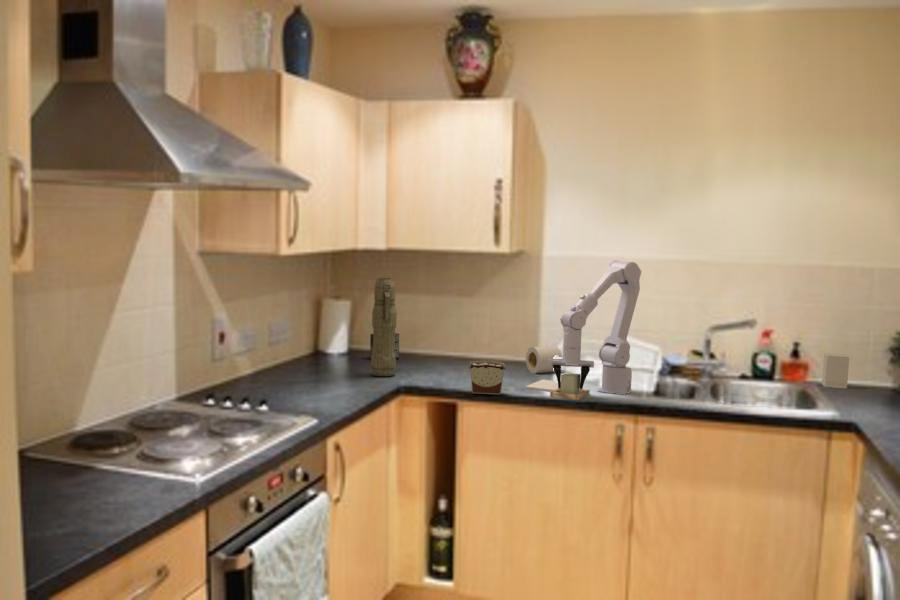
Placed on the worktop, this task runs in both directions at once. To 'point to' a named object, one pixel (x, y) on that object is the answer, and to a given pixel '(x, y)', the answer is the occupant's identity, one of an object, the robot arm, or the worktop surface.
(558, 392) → the wooden square frame
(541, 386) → the beige mat
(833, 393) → the worktop surface
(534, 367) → the toilet paper
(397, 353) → the small box
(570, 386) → the green block
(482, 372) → the food container
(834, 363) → the supplement box
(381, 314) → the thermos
